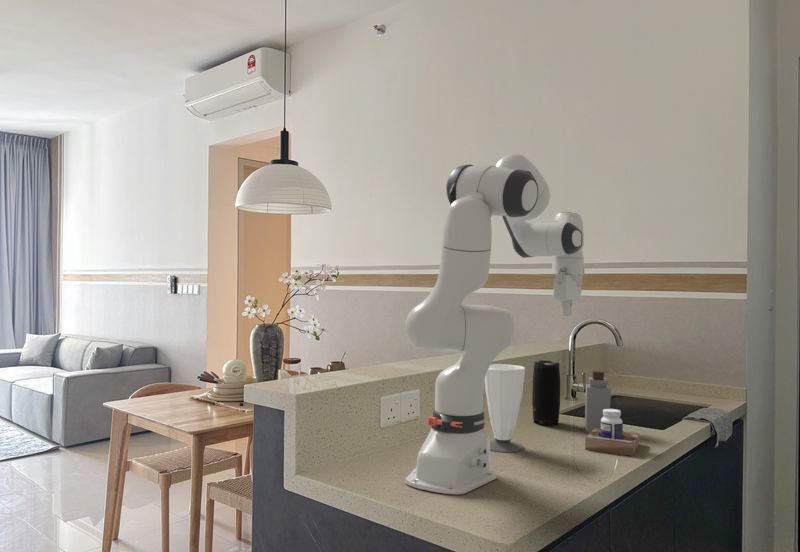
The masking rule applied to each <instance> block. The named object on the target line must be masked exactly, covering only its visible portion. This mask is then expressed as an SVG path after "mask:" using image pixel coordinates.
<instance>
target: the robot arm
mask: <svg viewBox="0 0 800 552" xmlns="http://www.w3.org/2000/svg"><path fill="white" fill-rule="evenodd" d="M445 187H446V196H447V199H448V203H449V207H448V210H447V214H446V215H445V216H446V217H445V220H444V221H445V222H444V228H443V233H442V239H441V240H442V241H441V252H440V253H441V254H440V255H441V256H440V264H439V270H438V271H439V272H438V276H437V279H436V281H435V282H436V283H434V287H433V288H432V290H431V292H430V293H429V294H428V296H426V298H425V299H424V300H423V301H422V302H420V303H419V304H418V305H416V306H415V307H413V308H412V309H411V310H410V311H409V313H408V315H407V317H406V319H405V323H404V324H405V325H404V332H405V335H406V338H407V340H408V343H409V344H410V345H411V346H412V347H413V348H415V349H420V350H424V351H430V352H459V353H461V354H460V357H459V359H458V361H457V362H456V363H455V364H453V365H451V366H449V367H446V368H444V370H443V369H442V371H441V372H440V373H439V374H438V375H437V377H436V379H435V388H434V389H435V391H434V392H435V396H434V404H435V405H434V409H433V412H432V415H431V416H428V417H427V421H426V424H427V426H430V427H431V428H430V431H429V433H428V435H427V436H426V438H425V440H424V442H423V444H422V445H421V448H420V450H419V452H418V453H417V458H416V467H414V469H413V470H412V471H411V472H410V473H409V474H408V475H407V476H406V478H405V481H404V482H405V484H406V485H407V486H410V487H412V488H416V489H419V490H422V491H423V490H424V491H428V492H432V493H433V492H434V493H439V494H446V495H464V494H466V493H469V492H470V491H473V490H475V489H477V488H480V487H481V486H483V485H486V484H488V483H489V482H492V481H494V480H496V479H497V478H498V476H497V475H498V473H497V472H496V471H493V470H492V462H491V461H492V460H491V458H492V457H491V451H490V441H491V440H490V439H489V438H488V435H486V434H485V431H484V428H485V421H486V418H485V411H483V409H484V407H483V406H484V405H483V403H484V390H485V377H486V374H487V371H488V369H489V367H490V365H491V364H493V361H495V359H496V358H497V356H499V354H501V353H502V352H503V351H504V350H506V349H507V348H508V347H509V346H510V345H511V343H512V342H513V340H514V337H515V334H516V324H515V321H514V318H513V315H512V314H511V312H510V311H509V310H508V309H506V308H502V307H498V306H493V305H489V304H462V303H463V301H464V299H466V297H468V296H469V295H470V294H472V293H474V292H476V291H479V290H480V289H481V288H483V287H484V285H485V284H486V283H487V282H488V280H489V275H490V264H491V253H492V216H496V217H497V216H498V217H502V219H503V222H504V224H505V226H506V230H507V231H508V233H509V236H510V238H511V242H512V247H513V250H514V252H516V254H517V255H519V256H520V257H522V259H523V258H524V259H525V258H534V257H535V258H536V257H552V259H551V261H552V262H551V263H552V268H551V271H552V273H551V274H552V275H554V278H553V279H554V280H553V299H554V300H555V301H559V302H560V301H561V309H562V316H563V317H570V316H572V310H573V304H574V301H576V300H580V299H581V295H582V287H583V276H584V275H585V268H584V265H585V264H584V262H585V261H584V259H585V258H584V254H583V248H584V244H585V238H584V237H585V234H584V233H585V232H584V224H583V222H584V221H583V217H582V216H581V215H580V214H578V213H576V212H571V211H570V212H569V211H567V212H566V211H565V212H558V213H557V214H556V215H555V217H554V221H551V222H550V221H549V222H526V221H531V220H533V219H535V218H538V217H539V216H541V214H542V213H544V212H545V210H546V209H547V208H548V205H549V204H550V200H551V190H550V187H549V184H548V182H547V181H546V179H545V177H544V176H543V175H542V173H541V171H539V169H538V168H537V167H536V166H535V164H534V163H533V162H531V160H530V159H528V158H527V157H525V156H524V155H522V154H520V153H510V154H507V155H505V156H503V157H502V158H500V159H499V160H498V161H497V163H496V164H495V165H482V164H481V165H480V164H479V165H473V164H463V165H460V166H456V167H455V168H454V169H453V170H452V171H451V172H450V174H449V176H448V178H447V181H446V186H445Z"/></svg>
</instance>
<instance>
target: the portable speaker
mask: <svg viewBox="0 0 800 552" xmlns="http://www.w3.org/2000/svg"><path fill="white" fill-rule="evenodd" d="M531 393H532V394H531V395H532V399H531V403H532V404H531V405H532V406H531V407H532V419H533V423H538V424H539V425H540V426H545V427H546V426H547V427H552V426H553V425H554V424H557V425H559V420H560V409H561V371H560V362H558V361H557V362H553V361H551V360H545V359H544V360H538V361H534V365H533V373H532V392H531Z"/></svg>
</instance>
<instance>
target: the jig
mask: <svg viewBox="0 0 800 552" xmlns="http://www.w3.org/2000/svg"><path fill="white" fill-rule="evenodd" d="M584 439H585V441H584V442H585V443H584V444H585V445H584V450H586V451H592V452H599V453H604V454H605V453H606V454H613V455H619V454H620V455H621V456H626V455H629V456H628V457H634V455H635V453H636V451H637V450H638V447H639V445H640V433H638V432H631V431H623V439H611V438H604V437H601V429H600V428H594V429H593V430H592V432H591V433H589V434H588V435H587V436H586V437H585V438H584ZM620 455H619V456H620Z"/></svg>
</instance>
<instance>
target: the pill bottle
mask: <svg viewBox="0 0 800 552" xmlns="http://www.w3.org/2000/svg"><path fill="white" fill-rule="evenodd" d="M603 415H604V417H603V418H602V419H601V437H604V438H611V439H623V430H624V429H623V426H624V424H623V419H622V418H621V416H622V411H621V410H620V409H615V408H610V409H604V410H603Z"/></svg>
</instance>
